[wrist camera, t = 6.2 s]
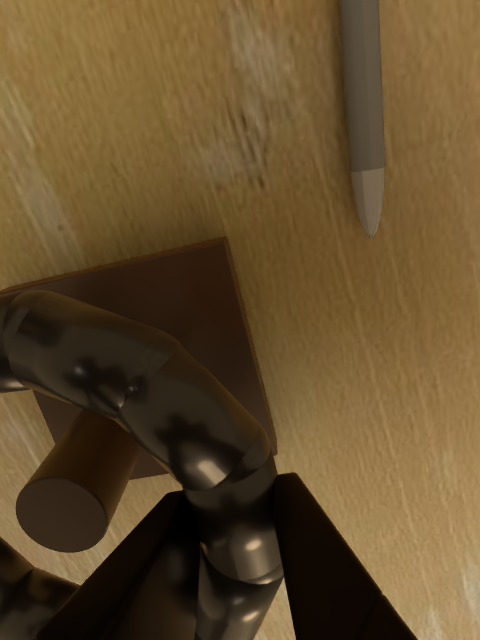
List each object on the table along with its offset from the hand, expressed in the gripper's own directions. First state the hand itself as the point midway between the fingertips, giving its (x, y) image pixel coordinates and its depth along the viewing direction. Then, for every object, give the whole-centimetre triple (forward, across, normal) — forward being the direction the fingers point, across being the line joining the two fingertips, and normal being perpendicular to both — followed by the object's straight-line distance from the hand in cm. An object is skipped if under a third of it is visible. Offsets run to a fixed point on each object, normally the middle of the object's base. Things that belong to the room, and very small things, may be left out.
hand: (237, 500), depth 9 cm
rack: (+8, +4, 0) cm, 9 cm away
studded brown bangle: (0, +4, 0) cm, 4 cm away
